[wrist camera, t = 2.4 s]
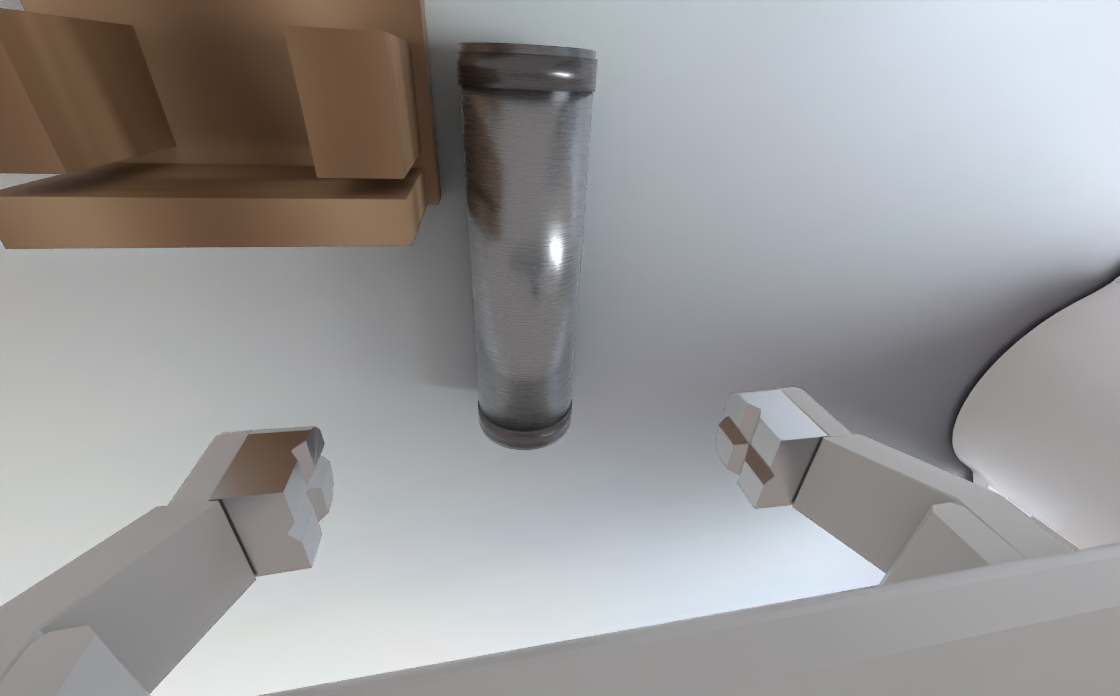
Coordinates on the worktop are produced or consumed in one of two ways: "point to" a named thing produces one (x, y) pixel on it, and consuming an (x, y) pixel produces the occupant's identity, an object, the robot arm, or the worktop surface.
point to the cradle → (216, 123)
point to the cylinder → (525, 228)
